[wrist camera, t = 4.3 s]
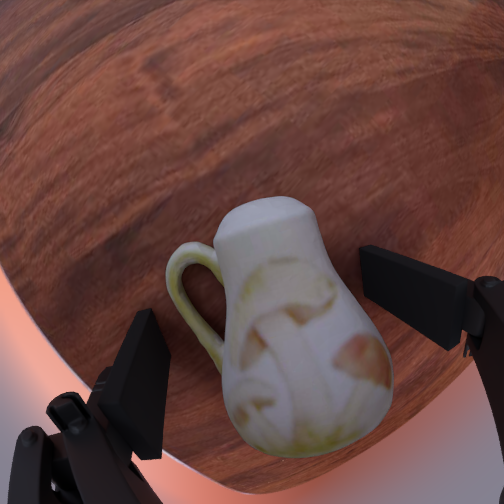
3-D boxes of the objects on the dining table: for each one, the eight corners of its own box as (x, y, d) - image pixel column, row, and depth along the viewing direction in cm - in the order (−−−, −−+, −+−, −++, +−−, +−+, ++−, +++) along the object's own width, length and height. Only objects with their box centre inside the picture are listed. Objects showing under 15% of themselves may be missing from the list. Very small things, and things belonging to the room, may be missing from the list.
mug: (308, 163, 12) (497, 300, 5) (288, 303, 18) (381, 419, 11) (145, 192, 10) (292, 494, 3) (181, 342, 16) (259, 494, 9)
